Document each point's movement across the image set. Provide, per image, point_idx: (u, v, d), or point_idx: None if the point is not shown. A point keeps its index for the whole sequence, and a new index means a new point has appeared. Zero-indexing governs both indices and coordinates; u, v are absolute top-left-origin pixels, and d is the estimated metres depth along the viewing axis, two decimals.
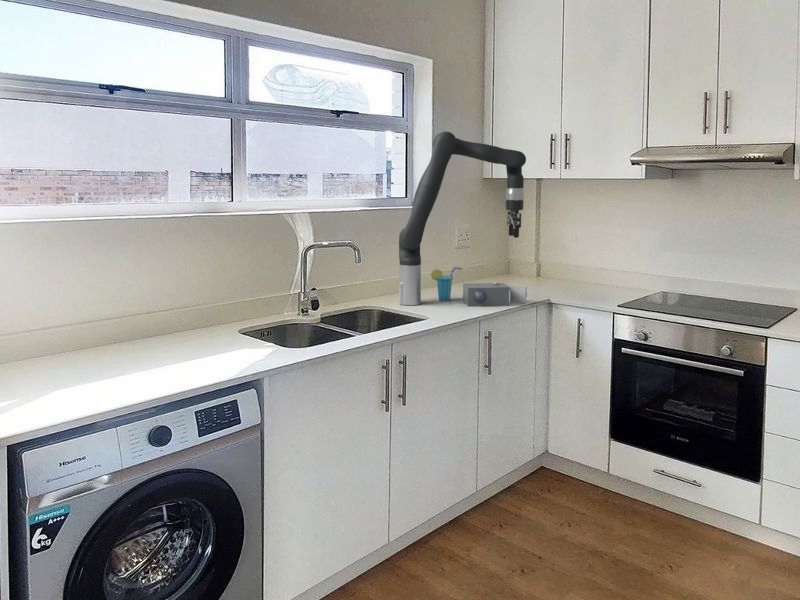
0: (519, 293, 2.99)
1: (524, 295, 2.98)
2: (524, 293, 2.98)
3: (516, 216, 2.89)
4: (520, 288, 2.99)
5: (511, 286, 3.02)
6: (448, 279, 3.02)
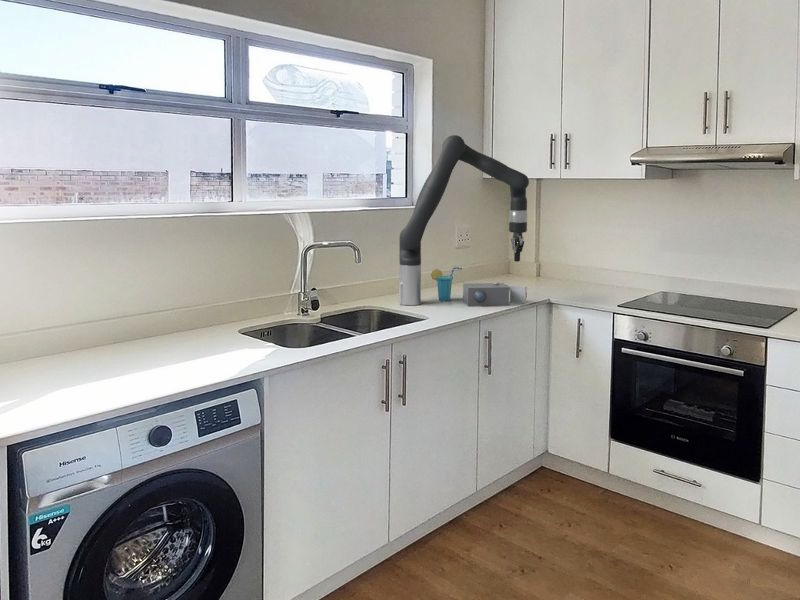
0: (519, 293, 2.99)
1: (524, 295, 2.98)
2: (524, 293, 2.98)
3: (518, 244, 2.89)
4: (520, 288, 2.99)
5: (511, 286, 3.02)
6: (448, 279, 3.02)
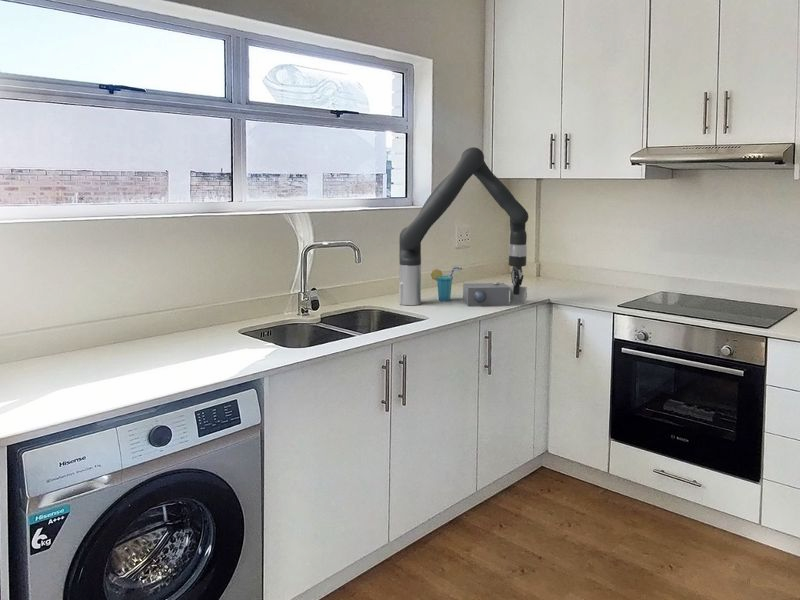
0: (519, 293, 2.99)
1: (524, 295, 2.98)
2: (524, 293, 2.98)
3: (518, 278, 2.91)
4: (520, 288, 2.99)
5: (511, 286, 3.02)
6: (448, 279, 3.02)
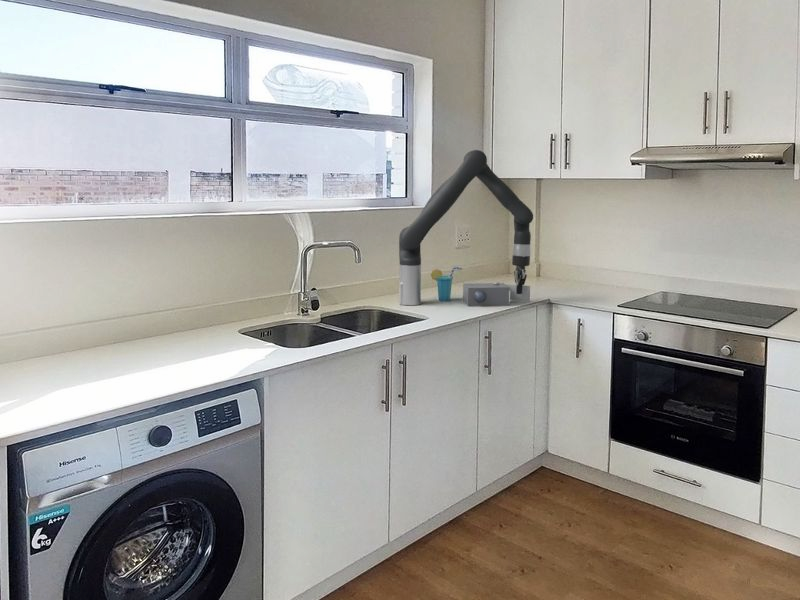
0: (522, 292, 3.02)
1: (528, 294, 3.01)
2: (528, 292, 3.01)
3: (521, 277, 2.93)
4: (523, 287, 3.01)
5: (513, 286, 3.03)
6: (448, 279, 3.02)
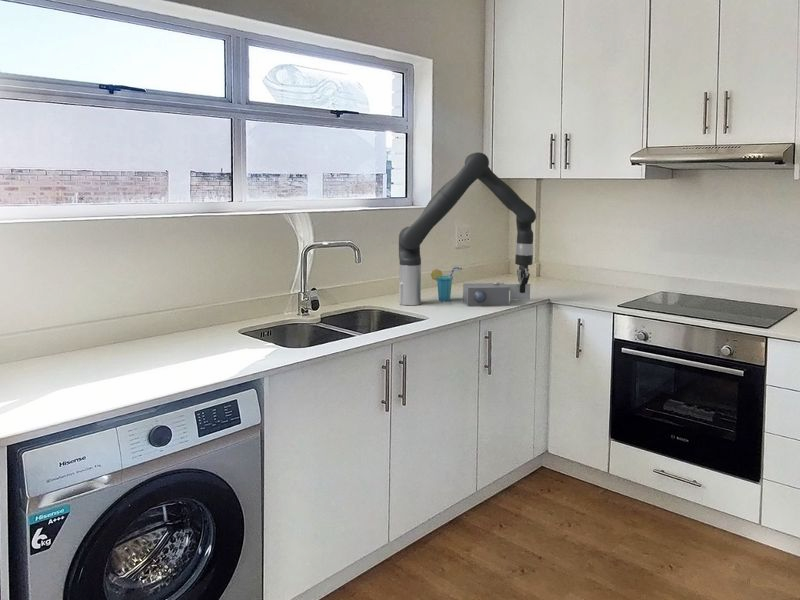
0: None
1: (528, 292, 3.06)
2: (529, 290, 3.06)
3: (524, 276, 2.96)
4: None
5: (513, 285, 3.05)
6: (448, 279, 3.02)
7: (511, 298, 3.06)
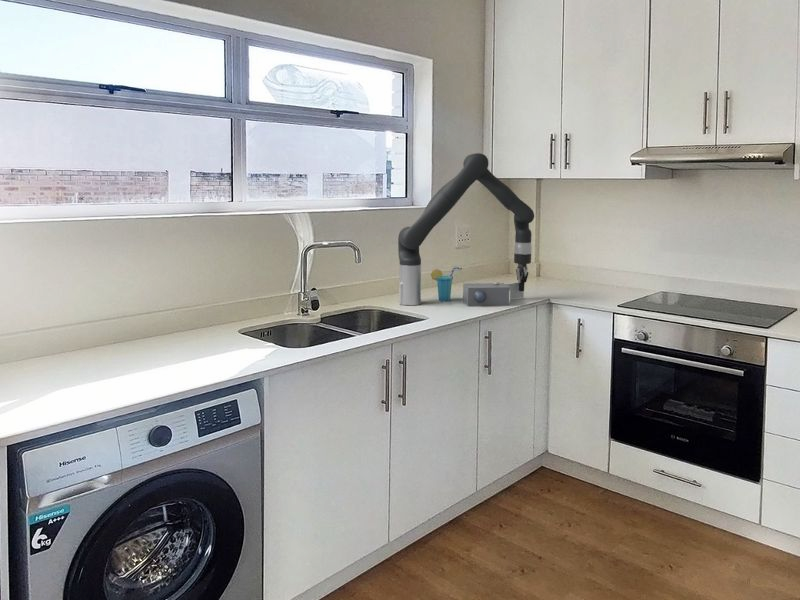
0: (518, 289, 3.10)
1: None
2: None
3: (523, 275, 3.01)
4: None
5: (511, 284, 3.07)
6: (448, 279, 3.02)
7: (510, 297, 3.08)
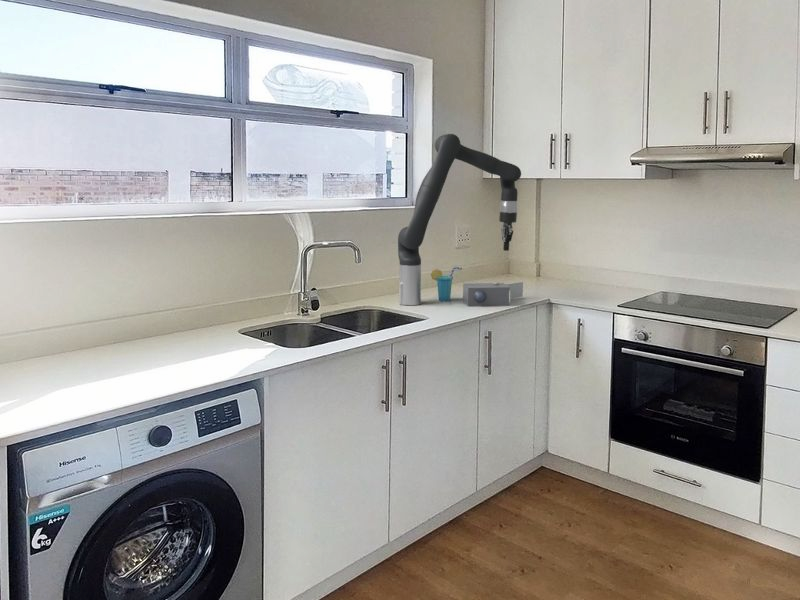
0: (518, 289, 3.10)
1: (522, 289, 3.12)
2: (522, 288, 3.12)
3: (508, 233, 2.99)
4: (519, 284, 3.10)
5: (511, 284, 3.07)
6: (448, 279, 3.02)
7: None
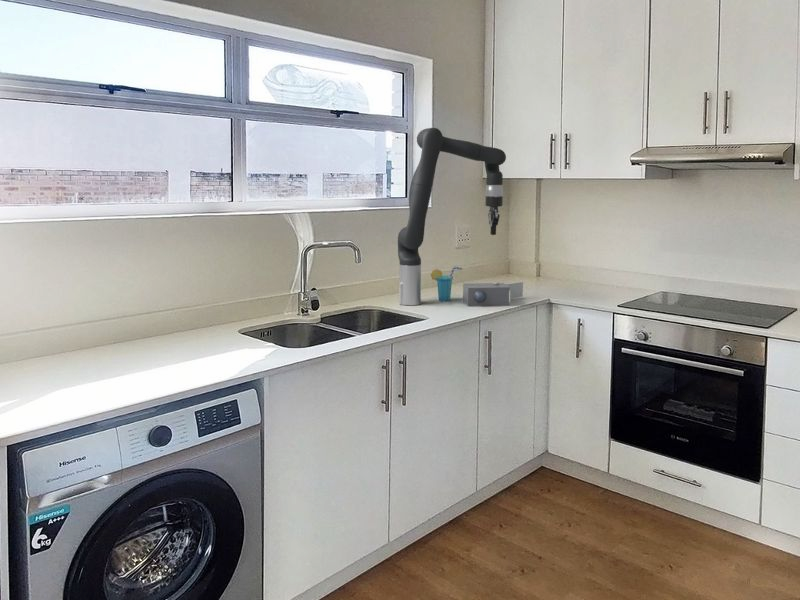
0: (518, 289, 3.10)
1: (522, 289, 3.12)
2: (522, 288, 3.12)
3: (494, 217, 2.99)
4: (519, 284, 3.10)
5: (511, 284, 3.07)
6: (448, 279, 3.02)
7: None
